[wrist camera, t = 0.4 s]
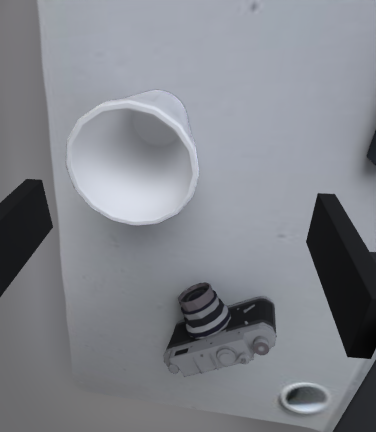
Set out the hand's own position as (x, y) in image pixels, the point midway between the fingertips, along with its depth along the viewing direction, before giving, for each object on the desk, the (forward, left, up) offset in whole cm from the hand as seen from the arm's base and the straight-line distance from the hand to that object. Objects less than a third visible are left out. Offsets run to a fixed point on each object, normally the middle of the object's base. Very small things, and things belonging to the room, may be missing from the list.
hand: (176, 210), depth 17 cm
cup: (0, -5, -22) cm, 22 cm away
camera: (+26, -11, -22) cm, 35 cm away
